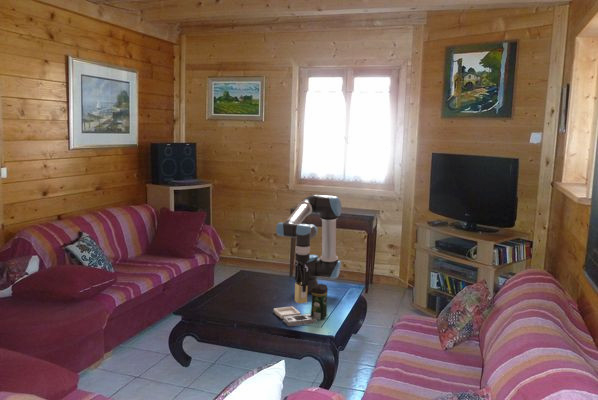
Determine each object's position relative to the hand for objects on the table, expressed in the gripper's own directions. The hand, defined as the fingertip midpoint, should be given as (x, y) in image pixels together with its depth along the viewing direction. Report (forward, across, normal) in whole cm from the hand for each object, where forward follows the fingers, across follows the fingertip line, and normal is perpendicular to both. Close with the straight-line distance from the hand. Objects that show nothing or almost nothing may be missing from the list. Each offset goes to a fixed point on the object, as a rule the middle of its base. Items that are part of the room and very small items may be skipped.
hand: (300, 295), depth 278 cm
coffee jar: (+15, -3, +12) cm, 20 cm away
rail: (+15, 0, 0) cm, 15 cm away
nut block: (+3, 0, 0) cm, 3 cm away
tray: (+15, -13, -2) cm, 20 cm away
